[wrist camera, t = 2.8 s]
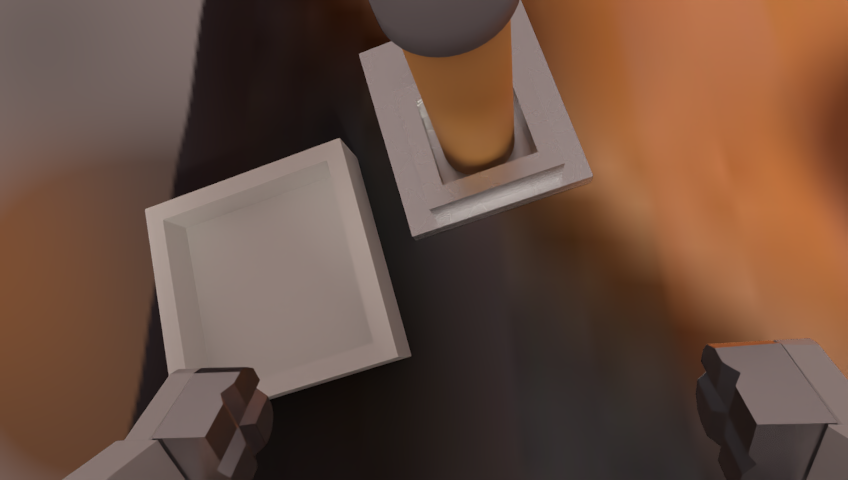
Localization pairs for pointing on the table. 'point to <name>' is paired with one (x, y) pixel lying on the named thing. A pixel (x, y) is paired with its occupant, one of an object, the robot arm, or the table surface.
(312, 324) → the tray
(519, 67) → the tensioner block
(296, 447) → the table surface
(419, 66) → the lock pin
